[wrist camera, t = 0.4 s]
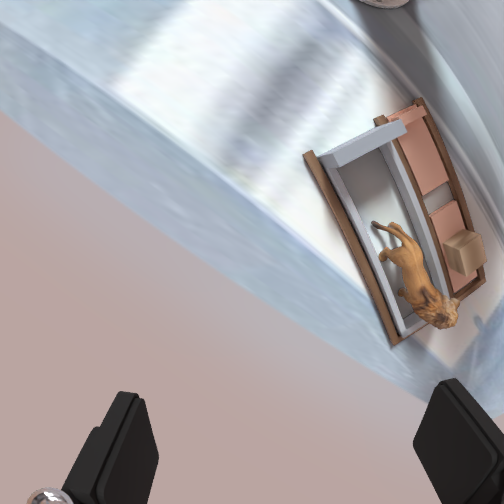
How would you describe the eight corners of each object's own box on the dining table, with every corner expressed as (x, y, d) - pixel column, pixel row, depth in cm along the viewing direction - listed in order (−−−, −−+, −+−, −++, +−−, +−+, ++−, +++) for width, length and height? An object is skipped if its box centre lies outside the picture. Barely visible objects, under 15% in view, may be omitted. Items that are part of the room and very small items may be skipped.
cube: (463, 228, 36) (480, 234, 32) (469, 253, 37) (486, 261, 33) (442, 242, 36) (459, 249, 32) (450, 268, 37) (466, 277, 33)
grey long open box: (375, 127, 34) (400, 118, 27) (443, 299, 39) (469, 318, 32) (316, 157, 35) (332, 153, 28) (395, 330, 40) (417, 355, 33)
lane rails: (417, 98, 33) (421, 96, 32) (481, 279, 39) (486, 281, 37) (302, 154, 35) (304, 153, 33) (390, 341, 40) (393, 345, 39)
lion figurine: (437, 289, 39) (473, 314, 30) (410, 315, 40) (442, 345, 31) (384, 207, 36) (420, 217, 27) (353, 236, 37) (382, 254, 28)
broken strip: (411, 105, 33) (423, 101, 30) (473, 273, 38) (485, 280, 35) (383, 118, 34) (394, 114, 31) (450, 290, 39) (461, 298, 36)
